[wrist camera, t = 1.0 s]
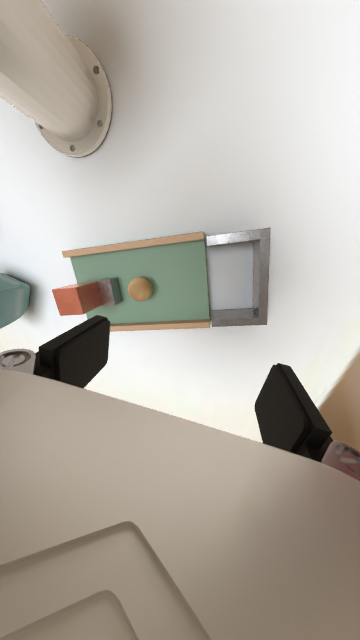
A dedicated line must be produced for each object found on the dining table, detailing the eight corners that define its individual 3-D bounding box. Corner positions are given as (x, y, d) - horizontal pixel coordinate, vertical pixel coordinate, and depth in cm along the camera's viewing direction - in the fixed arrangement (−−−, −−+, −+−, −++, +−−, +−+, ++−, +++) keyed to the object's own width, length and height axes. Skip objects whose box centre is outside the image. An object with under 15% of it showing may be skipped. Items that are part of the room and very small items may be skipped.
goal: (212, 316, 35) (212, 326, 31) (207, 238, 31) (206, 236, 26) (260, 314, 34) (266, 324, 29) (261, 231, 29) (270, 227, 25)
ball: (129, 289, 35) (119, 294, 31) (140, 271, 33) (130, 273, 29) (148, 302, 35) (140, 308, 31) (159, 284, 33) (152, 288, 30)
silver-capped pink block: (87, 303, 37) (55, 317, 30) (81, 280, 36) (45, 288, 28) (122, 301, 35) (97, 314, 28) (117, 277, 34) (90, 284, 27)
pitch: (95, 326, 41) (85, 332, 38) (75, 251, 36) (61, 251, 33) (210, 320, 36) (209, 327, 33) (204, 233, 31) (203, 231, 28)
